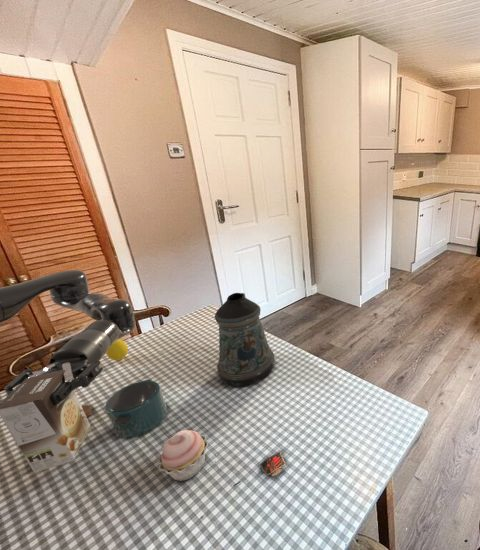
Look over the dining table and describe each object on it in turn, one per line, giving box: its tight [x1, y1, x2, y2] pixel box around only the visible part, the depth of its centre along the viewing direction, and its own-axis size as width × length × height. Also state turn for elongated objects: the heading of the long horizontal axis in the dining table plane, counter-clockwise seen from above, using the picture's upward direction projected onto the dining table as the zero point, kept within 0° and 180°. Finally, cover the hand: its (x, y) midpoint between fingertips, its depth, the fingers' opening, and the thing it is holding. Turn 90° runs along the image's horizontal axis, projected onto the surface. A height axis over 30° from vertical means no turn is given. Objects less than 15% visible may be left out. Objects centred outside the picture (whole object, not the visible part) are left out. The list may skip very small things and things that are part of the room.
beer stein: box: [214, 292, 275, 388], centre depth 91 cm, size 16×19×25 cm
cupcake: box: [157, 429, 209, 482], centre depth 64 cm, size 9×9×10 cm
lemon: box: [105, 338, 129, 361], centre depth 98 cm, size 6×6×8 cm
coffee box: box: [0, 370, 92, 473], centre depth 60 cm, size 9×6×16 cm
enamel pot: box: [104, 379, 168, 439], centre depth 76 cm, size 11×14×8 cm
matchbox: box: [260, 451, 286, 477], centre depth 66 cm, size 5×5×1 cm
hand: (28, 404), depth 56 cm, fingers closed on coffee box, 7 cm apart
